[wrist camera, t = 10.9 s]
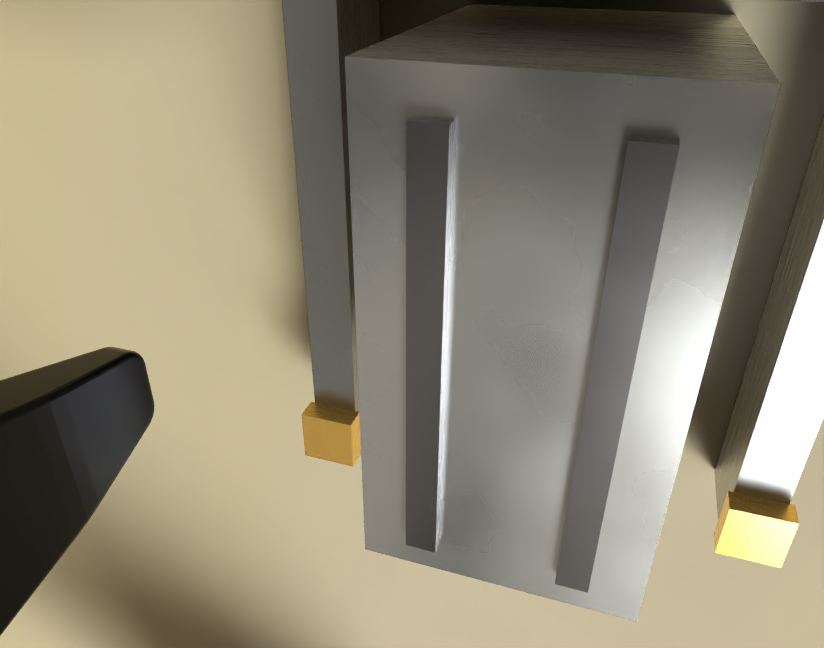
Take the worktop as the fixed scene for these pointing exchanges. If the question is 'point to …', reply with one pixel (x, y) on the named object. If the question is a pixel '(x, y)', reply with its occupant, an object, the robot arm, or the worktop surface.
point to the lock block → (543, 281)
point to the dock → (336, 320)
